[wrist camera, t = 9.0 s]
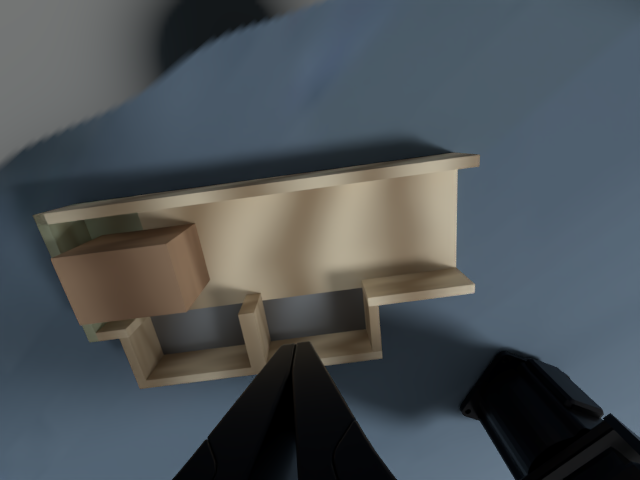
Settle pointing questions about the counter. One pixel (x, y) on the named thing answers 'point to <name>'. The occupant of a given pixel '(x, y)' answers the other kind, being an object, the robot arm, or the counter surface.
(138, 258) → the walnut block
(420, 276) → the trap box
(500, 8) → the counter surface
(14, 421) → the counter surface
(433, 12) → the counter surface
